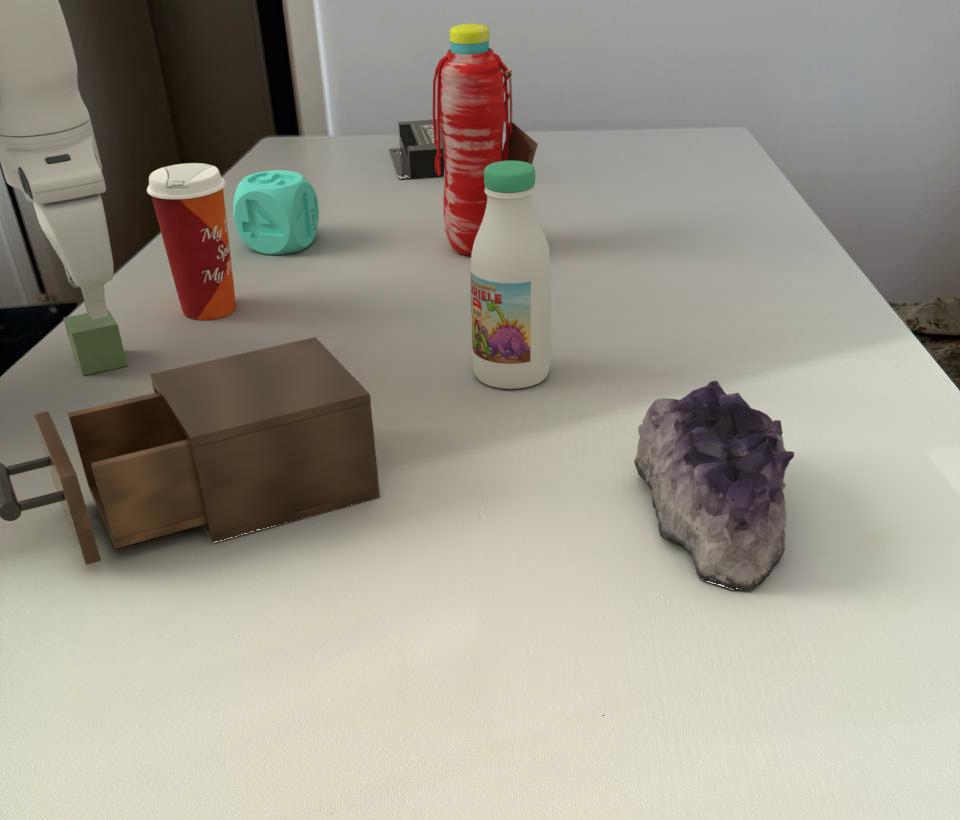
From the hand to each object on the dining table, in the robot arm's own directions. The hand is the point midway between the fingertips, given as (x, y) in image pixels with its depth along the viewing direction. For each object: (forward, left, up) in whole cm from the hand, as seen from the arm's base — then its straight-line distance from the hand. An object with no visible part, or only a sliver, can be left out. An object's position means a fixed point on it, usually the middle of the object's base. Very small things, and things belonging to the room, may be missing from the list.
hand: (88, 299), depth 114 cm
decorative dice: (+28, +24, -7) cm, 37 cm away
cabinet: (+8, -33, -7) cm, 34 cm away
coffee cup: (+14, +8, -7) cm, 17 cm away
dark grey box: (+60, +44, -7) cm, 75 cm away
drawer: (-5, -33, -6) cm, 34 cm away
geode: (+38, -56, -7) cm, 68 cm away
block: (0, 0, -7) cm, 7 cm away
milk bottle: (+36, -24, -7) cm, 43 cm away
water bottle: (+50, +9, -7) cm, 51 cm away
